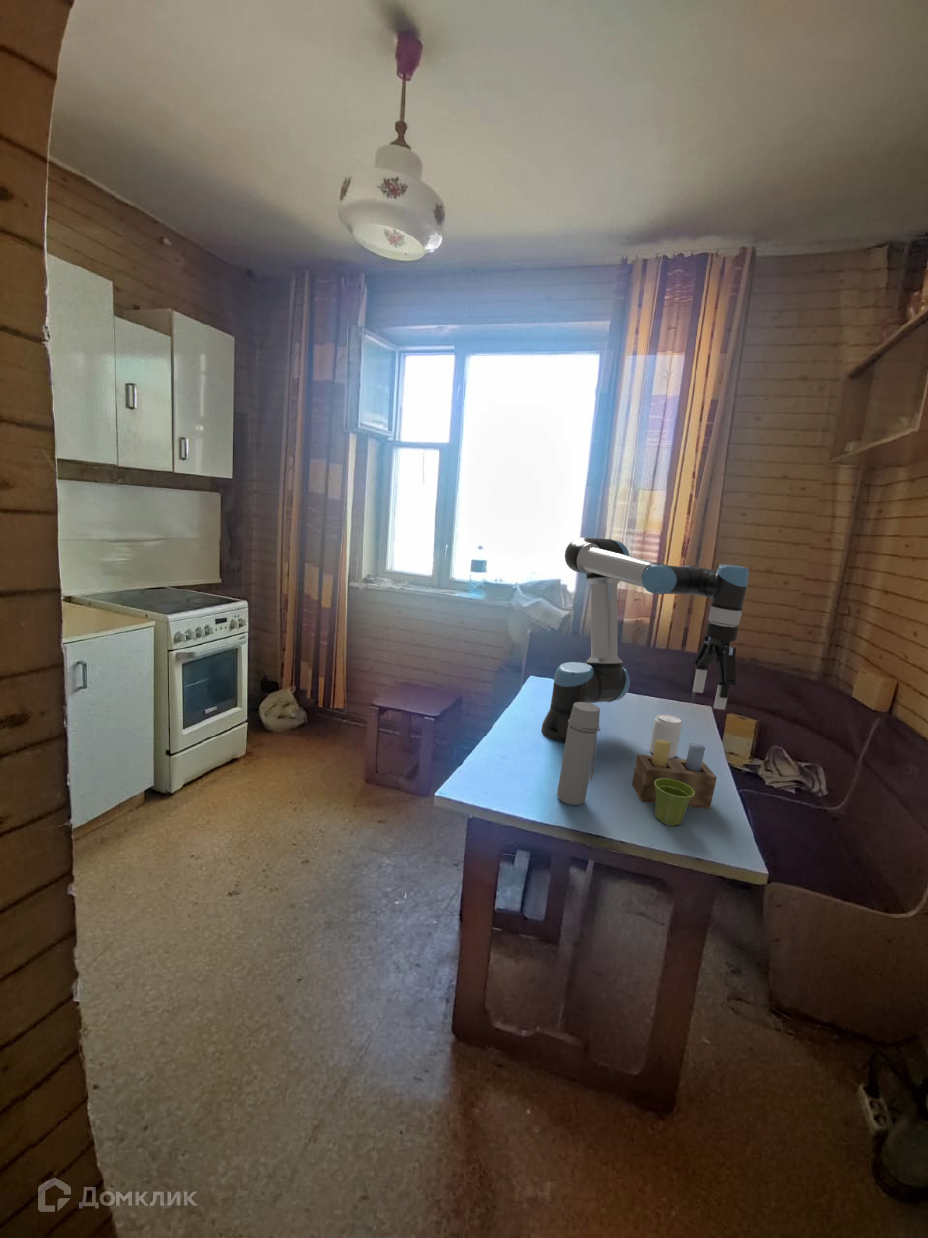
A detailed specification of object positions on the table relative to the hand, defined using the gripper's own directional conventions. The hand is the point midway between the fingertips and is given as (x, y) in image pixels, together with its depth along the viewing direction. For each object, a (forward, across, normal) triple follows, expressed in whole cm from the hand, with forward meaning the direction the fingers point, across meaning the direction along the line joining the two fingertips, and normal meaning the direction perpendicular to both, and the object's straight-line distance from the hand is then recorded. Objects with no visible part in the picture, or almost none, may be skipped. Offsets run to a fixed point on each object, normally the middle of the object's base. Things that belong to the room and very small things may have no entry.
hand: (707, 700), depth 156 cm
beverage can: (+26, +21, +1) cm, 33 cm away
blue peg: (+19, -8, +4) cm, 20 cm away
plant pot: (+26, -19, +14) cm, 35 cm away
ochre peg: (+18, -7, +13) cm, 24 cm away
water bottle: (+26, -14, +36) cm, 46 cm away
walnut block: (+26, -7, +9) cm, 28 cm away
